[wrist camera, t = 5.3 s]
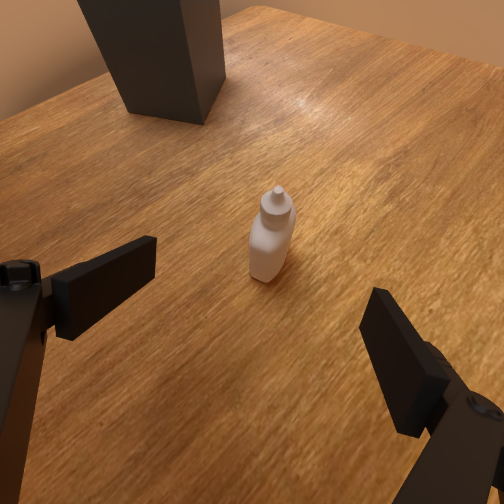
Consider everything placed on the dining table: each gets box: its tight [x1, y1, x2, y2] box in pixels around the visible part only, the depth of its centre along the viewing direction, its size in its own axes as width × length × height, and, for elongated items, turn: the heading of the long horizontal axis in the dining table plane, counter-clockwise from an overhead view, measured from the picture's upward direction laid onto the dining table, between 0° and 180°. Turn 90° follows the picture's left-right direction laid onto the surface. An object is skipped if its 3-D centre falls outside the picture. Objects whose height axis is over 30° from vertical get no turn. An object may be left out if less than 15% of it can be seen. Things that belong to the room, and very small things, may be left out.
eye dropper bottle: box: [249, 186, 296, 283], centre depth 24 cm, size 4×6×12 cm
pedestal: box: [77, 0, 226, 125], centre depth 34 cm, size 12×12×18 cm
